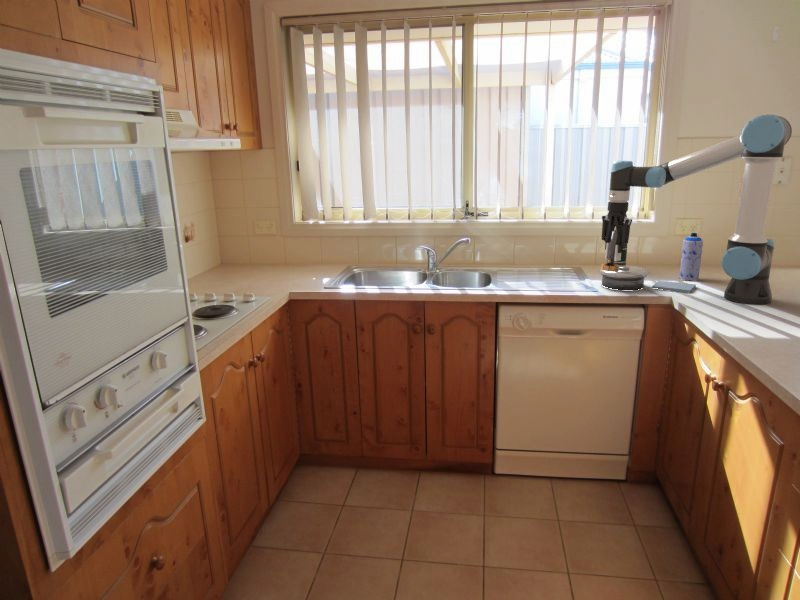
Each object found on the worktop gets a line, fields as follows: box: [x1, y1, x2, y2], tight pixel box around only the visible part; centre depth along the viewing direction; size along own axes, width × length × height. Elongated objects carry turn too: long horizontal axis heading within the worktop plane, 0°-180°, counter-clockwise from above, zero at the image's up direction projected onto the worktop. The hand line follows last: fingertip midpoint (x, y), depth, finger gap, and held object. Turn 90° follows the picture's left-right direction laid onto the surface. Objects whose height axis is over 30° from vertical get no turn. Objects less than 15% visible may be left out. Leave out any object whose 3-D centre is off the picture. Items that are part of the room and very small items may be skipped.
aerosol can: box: [678, 232, 704, 281], centre depth 240 cm, size 8×8×20 cm
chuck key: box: [606, 229, 619, 266], centre depth 225 cm, size 3×3×16 cm
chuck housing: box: [601, 275, 645, 290], centre depth 230 cm, size 16×16×5 cm
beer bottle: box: [615, 225, 628, 266], centre depth 258 cm, size 8×8×24 cm
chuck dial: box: [599, 262, 649, 279], centre depth 229 cm, size 18×18×4 cm
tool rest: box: [651, 280, 697, 294], centre depth 227 cm, size 14×12×1 cm
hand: (612, 259), depth 227 cm, fingers closed on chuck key, 4 cm apart
